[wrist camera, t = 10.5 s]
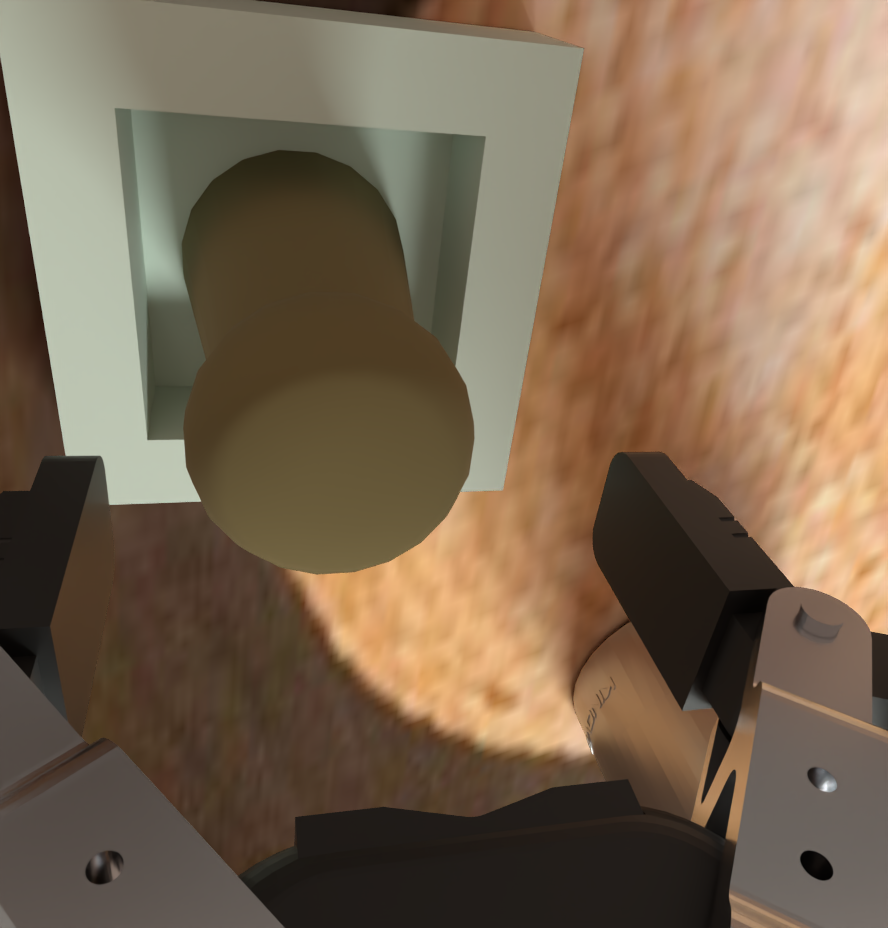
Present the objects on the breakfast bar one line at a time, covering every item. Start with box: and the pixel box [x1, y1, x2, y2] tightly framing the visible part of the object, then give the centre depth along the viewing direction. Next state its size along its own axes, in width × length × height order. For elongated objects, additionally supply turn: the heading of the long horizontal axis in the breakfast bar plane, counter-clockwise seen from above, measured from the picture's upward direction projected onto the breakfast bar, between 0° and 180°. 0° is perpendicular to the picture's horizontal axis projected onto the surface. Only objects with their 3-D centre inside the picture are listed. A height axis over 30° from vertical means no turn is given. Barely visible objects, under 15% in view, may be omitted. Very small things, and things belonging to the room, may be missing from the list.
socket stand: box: [0, 0, 584, 505], centre depth 21 cm, size 12×12×4 cm
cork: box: [182, 150, 475, 574], centre depth 18 cm, size 6×6×11 cm
